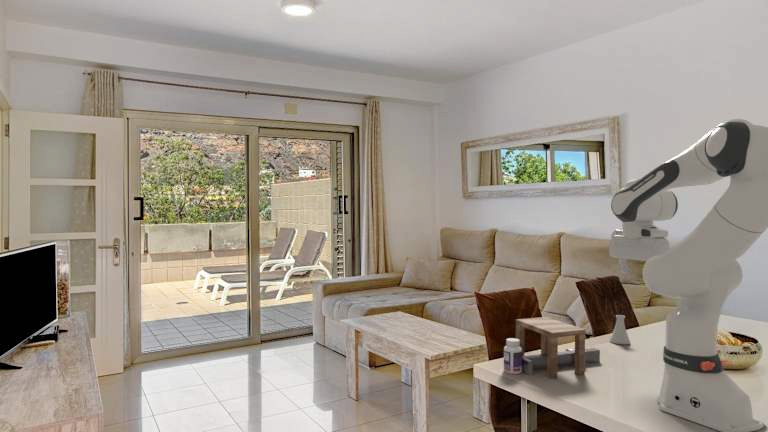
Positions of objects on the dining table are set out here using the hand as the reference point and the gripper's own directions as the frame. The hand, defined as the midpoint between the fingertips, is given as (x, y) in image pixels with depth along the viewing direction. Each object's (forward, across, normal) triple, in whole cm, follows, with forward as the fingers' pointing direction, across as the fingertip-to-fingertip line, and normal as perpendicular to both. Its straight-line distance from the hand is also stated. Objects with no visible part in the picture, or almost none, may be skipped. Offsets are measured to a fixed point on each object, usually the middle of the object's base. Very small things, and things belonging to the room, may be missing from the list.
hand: (637, 274), depth 158 cm
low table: (+29, -8, -28) cm, 41 cm away
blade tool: (+29, -8, -23) cm, 38 cm away
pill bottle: (+29, -9, -41) cm, 51 cm away
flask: (+29, -22, +16) cm, 40 cm away
